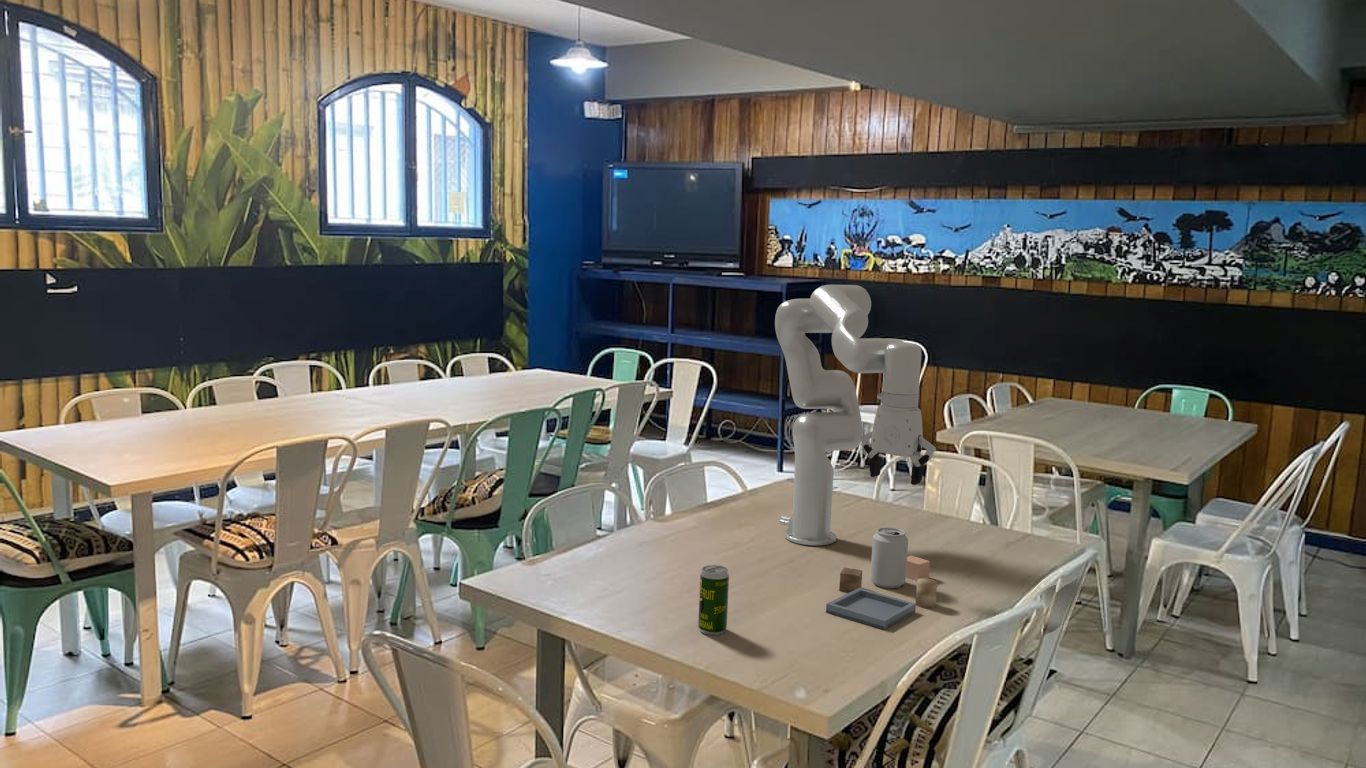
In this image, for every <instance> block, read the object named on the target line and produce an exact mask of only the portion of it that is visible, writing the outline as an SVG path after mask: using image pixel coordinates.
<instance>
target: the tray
mask: <svg viewBox="0 0 1366 768" xmlns="http://www.w3.org/2000/svg"><path fill="white" fill-rule="evenodd" d="M916 606H917V605H916V602H915V603H914V602H911V601H907V600H903V599H900V598H897V597H893V596H890V595H886V594H883V593H879V592H875V591H871V590H868V589H866V588H865V589H864V588H862V587H861V588H858V589H856V590H854V591H852V592H847V593H845V594H844V595H842V596H840V597H837V598H836V599H833V600H831V601H829V602H828V603H826V606H825V607H826V608H825V613H827V614H830V615H832V616H833V615H834V616H837V617H839V618H844V619H846V620H850V621H853V622H857V623H860V624H864V625H866V626H870V627H873V628H876V629H880V630H883V631H885V630H886V629H888V628H890V627H891V626H894V625H896V624H898V623H899V622H900V621H903V620H904V619H906V618H907V617H910V616H911V615H913V614H914V613H916V608H917V607H916Z"/></svg>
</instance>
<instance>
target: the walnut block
mask: <svg viewBox="0 0 1366 768" xmlns="http://www.w3.org/2000/svg"><path fill="white" fill-rule="evenodd" d="M862 581H863V570H862V569H856V568H849V567H843V569H842V570H841V571H840V573H839V585H838V586H839V592H843V593H844V592H845V593H850V592H852V591H854V590H856V589H858V588H862V583H863V582H862Z"/></svg>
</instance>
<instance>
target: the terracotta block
mask: <svg viewBox="0 0 1366 768" xmlns="http://www.w3.org/2000/svg"><path fill="white" fill-rule="evenodd" d="M930 564H931V562H930V560H927V559H924V558H921V557H918V556H915V555H907V564H906V578H905V579H908V580H911V579H912V581H914V580H915V582H917V580H918V579H921V578H927V579H930V576H929V575H930Z"/></svg>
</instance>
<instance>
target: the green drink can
mask: <svg viewBox="0 0 1366 768" xmlns="http://www.w3.org/2000/svg"><path fill="white" fill-rule="evenodd" d="M699 576H700V578H699V595H698V596H699V598H698V622H697V623H698V624H697V625H698V627H697V628H698V629H699V632H700V633H701V634H705V635H706V636H707V635H708V636H720V635H723V634H725V632H726V630H727V628H728V627H727V626H728V608H729V607H728V605H729V589H730V588H729V587H730V586H729V585H730V584H729V581H730V575H729V569H728V568H727V567H726V566H722V565H716V564H711V565H710V564H708V565H706V566H702V567H701V571H700V575H699Z"/></svg>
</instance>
